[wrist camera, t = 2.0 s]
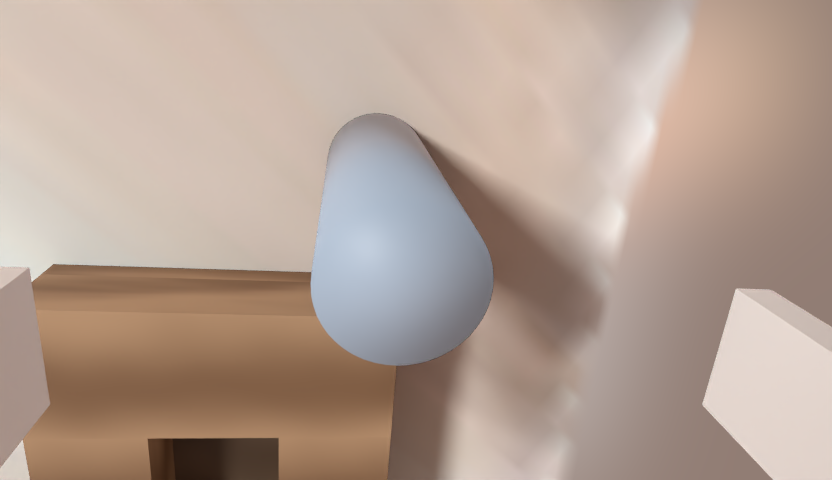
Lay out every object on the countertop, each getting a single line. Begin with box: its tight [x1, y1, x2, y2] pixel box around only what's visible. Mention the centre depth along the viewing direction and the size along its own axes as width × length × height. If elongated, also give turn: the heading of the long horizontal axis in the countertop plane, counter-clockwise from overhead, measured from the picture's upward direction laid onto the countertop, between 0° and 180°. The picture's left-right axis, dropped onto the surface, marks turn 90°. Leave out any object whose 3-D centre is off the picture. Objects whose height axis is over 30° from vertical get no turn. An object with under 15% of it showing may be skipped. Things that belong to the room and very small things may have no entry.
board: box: [23, 264, 397, 480], centre depth 26 cm, size 16×14×4 cm
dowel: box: [311, 113, 494, 366], centre depth 18 cm, size 4×4×12 cm
